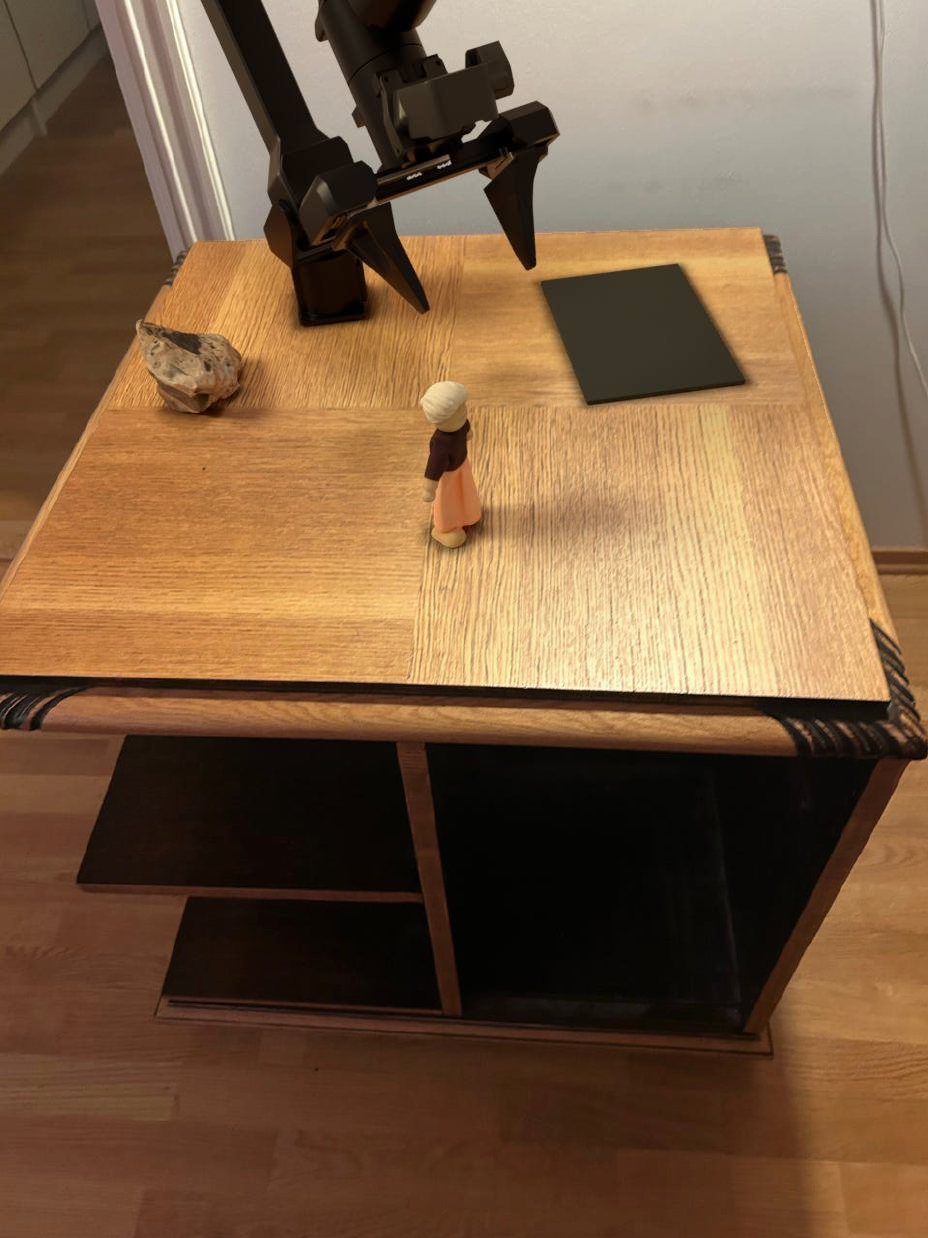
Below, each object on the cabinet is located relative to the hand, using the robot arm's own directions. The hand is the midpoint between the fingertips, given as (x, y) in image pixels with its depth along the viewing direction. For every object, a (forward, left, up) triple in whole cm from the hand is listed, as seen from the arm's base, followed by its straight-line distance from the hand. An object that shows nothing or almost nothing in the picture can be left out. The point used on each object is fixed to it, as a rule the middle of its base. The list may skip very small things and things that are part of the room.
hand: (480, 289), depth 66 cm
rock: (-24, +12, -14) cm, 30 cm away
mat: (+16, +13, -14) cm, 25 cm away
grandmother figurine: (-4, -9, -14) cm, 17 cm away
